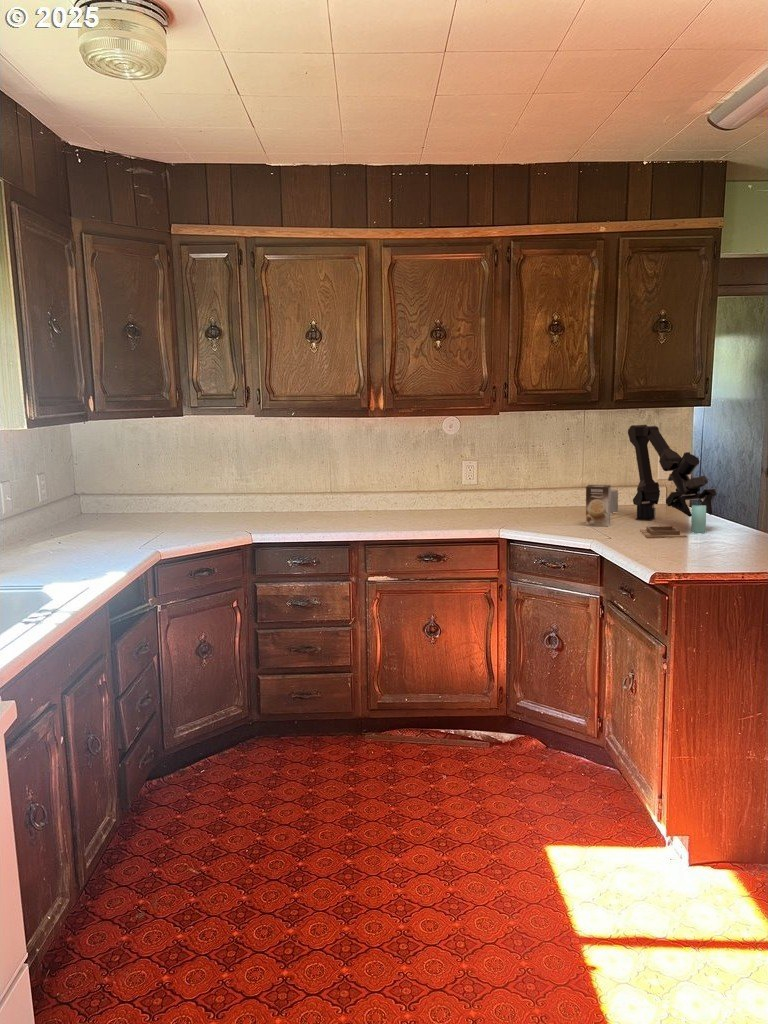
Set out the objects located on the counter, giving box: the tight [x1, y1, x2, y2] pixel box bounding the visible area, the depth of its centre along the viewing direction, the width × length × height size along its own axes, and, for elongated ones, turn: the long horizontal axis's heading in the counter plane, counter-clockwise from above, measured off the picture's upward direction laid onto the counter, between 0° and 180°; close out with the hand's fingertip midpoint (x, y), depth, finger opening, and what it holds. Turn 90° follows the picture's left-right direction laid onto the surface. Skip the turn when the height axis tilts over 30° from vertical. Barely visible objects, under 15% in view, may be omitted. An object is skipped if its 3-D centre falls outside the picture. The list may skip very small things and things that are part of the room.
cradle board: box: [639, 525, 688, 539], centre depth 285 cm, size 14×14×2 cm
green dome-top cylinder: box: [690, 504, 707, 534], centre depth 285 cm, size 5×5×10 cm
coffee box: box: [585, 484, 612, 527], centre depth 309 cm, size 9×6×16 cm
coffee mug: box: [610, 488, 619, 513], centre depth 341 cm, size 13×10×10 cm
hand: (701, 515), depth 284 cm, fingers open, 8 cm apart
